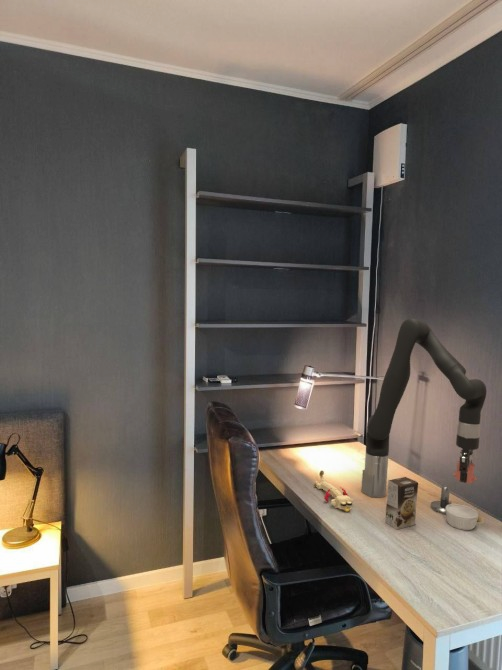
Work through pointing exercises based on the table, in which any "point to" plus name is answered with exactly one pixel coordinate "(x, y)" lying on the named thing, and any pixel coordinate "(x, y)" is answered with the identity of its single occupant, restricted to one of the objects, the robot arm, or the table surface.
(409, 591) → the table surface
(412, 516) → the coffee box
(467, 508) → the ramekin
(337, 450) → the table surface
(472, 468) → the cap
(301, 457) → the table surface
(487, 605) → the table surface
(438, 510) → the grey lamp
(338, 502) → the cream toy dragon
